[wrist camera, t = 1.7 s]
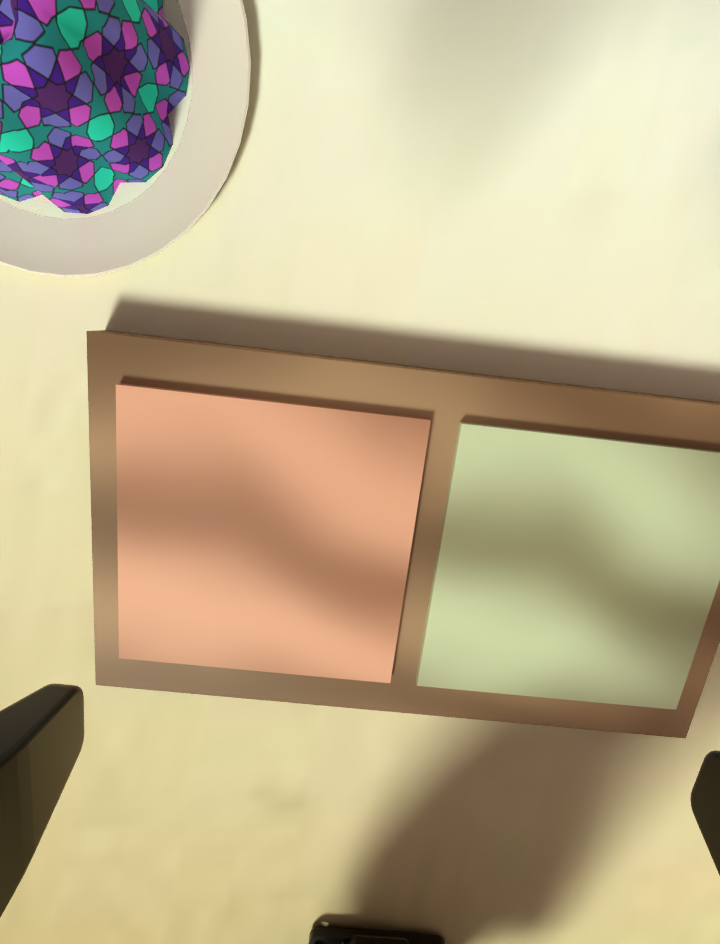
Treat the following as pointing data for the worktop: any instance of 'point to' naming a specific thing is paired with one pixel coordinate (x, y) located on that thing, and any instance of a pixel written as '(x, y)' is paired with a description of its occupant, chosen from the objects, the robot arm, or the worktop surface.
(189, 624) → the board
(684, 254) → the worktop surface
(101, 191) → the pudding
